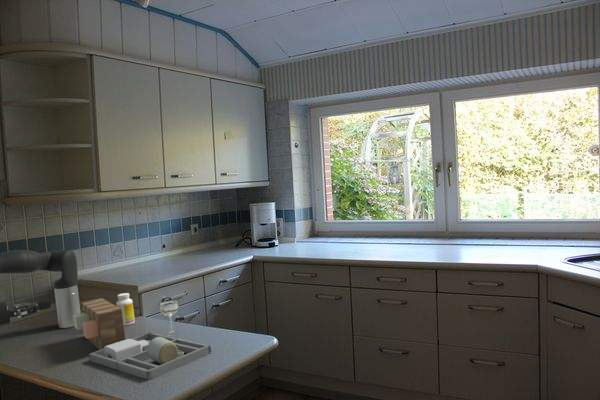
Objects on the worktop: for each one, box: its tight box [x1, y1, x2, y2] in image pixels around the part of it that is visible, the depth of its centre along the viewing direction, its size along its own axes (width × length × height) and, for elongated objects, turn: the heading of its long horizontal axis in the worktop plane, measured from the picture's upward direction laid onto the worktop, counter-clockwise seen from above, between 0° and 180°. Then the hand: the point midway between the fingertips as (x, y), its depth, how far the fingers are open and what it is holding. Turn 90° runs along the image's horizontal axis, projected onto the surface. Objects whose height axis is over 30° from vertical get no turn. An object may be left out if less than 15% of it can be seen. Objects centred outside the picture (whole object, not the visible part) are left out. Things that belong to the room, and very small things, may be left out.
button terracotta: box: [82, 320, 99, 340], centre depth 183 cm, size 5×5×5 cm
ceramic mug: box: [146, 337, 185, 365], centre depth 165 cm, size 11×8×8 cm
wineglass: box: [159, 300, 179, 333], centre depth 195 cm, size 7×7×12 cm
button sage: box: [73, 312, 88, 331], centre depth 196 cm, size 5×5×5 cm
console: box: [80, 297, 126, 350], centre depth 192 cm, size 28×8×14 cm, turn 35°
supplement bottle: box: [115, 292, 136, 327], centre depth 215 cm, size 7×7×13 cm
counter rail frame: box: [88, 332, 212, 381], centre depth 170 cm, size 35×24×2 cm
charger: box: [104, 338, 151, 361], centre depth 175 cm, size 5×9×15 cm
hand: (49, 304), depth 175 cm, fingers closed
